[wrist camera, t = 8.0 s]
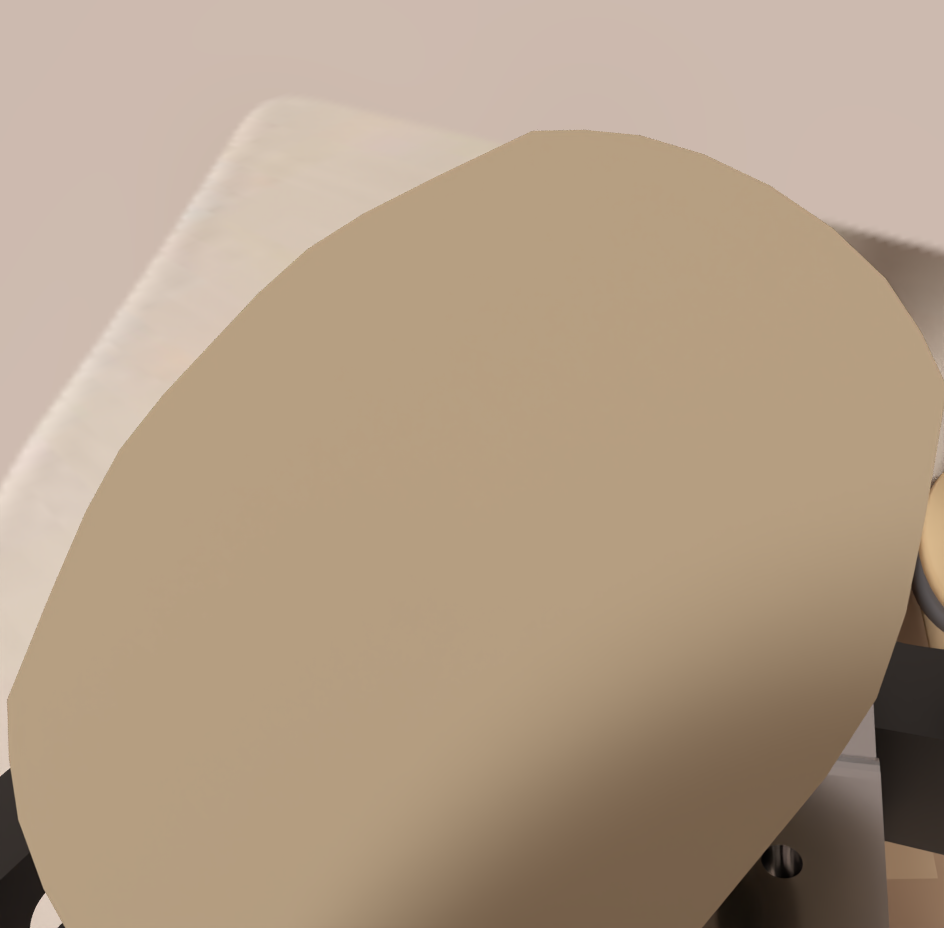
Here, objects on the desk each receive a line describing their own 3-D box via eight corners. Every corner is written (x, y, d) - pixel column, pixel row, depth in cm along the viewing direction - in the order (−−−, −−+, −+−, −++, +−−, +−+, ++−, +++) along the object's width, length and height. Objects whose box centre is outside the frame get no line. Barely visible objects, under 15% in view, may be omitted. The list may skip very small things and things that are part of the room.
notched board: (888, 502, 29) (919, 466, 25) (984, 969, 25) (1040, 1012, 21) (384, 552, 33) (343, 528, 29) (390, 967, 28) (343, 1003, 25)
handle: (800, 653, 19) (1140, 396, 5) (606, 885, 18) (348, 1354, 4) (627, 515, 20) (502, 33, 7) (446, 722, 20) (-106, 681, 6)
